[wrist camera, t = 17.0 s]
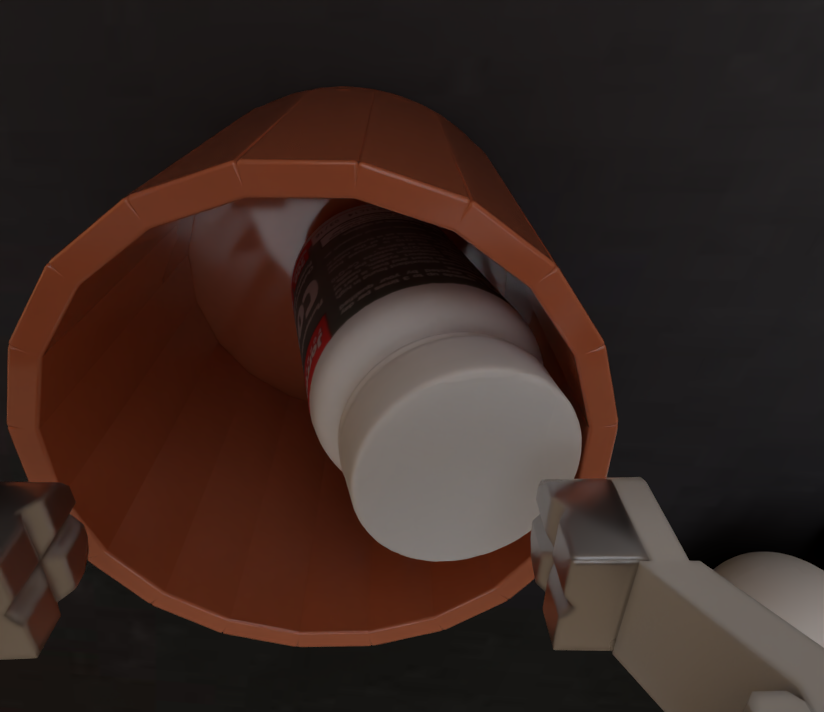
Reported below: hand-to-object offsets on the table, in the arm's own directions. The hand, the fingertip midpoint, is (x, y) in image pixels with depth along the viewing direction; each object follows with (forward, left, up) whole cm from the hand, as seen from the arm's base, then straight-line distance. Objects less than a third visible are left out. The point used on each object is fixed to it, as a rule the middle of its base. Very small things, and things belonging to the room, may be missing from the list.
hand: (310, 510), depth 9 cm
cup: (0, 0, -10) cm, 10 cm away
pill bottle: (0, +1, -9) cm, 9 cm away
